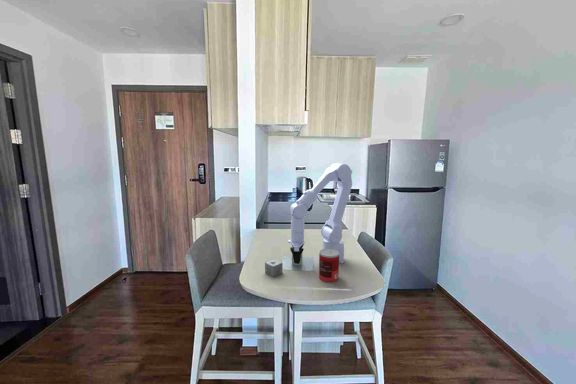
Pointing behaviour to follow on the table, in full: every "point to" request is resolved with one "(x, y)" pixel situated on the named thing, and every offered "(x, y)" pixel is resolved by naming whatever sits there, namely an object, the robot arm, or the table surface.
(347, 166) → the robot arm
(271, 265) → the dice cube
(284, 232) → the table surface
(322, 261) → the canned food
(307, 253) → the table surface
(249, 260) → the table surface
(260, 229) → the table surface
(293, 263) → the sage brick
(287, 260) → the plate
